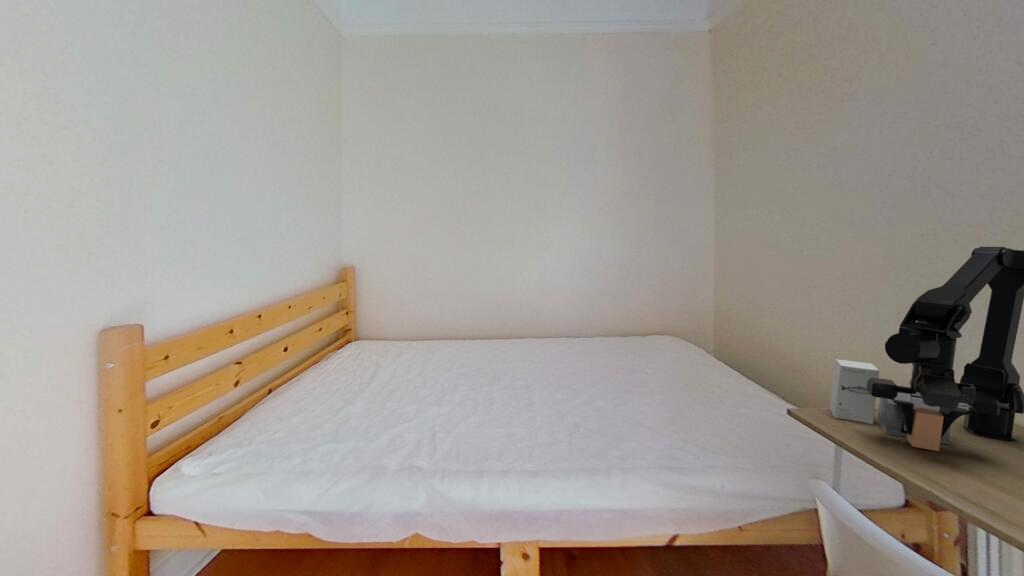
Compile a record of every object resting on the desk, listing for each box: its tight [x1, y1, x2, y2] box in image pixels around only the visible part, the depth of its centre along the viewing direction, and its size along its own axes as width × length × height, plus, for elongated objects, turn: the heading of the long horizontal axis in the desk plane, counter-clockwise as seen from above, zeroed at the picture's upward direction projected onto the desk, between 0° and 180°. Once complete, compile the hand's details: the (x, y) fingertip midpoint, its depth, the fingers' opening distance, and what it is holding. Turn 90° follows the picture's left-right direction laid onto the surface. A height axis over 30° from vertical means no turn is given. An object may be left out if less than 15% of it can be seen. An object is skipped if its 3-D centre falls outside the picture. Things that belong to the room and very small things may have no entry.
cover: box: [902, 407, 944, 452], centre depth 94 cm, size 4×12×7 cm, turn 151°
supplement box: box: [829, 358, 880, 425], centre depth 106 cm, size 7×7×13 cm
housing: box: [876, 397, 951, 445], centre depth 98 cm, size 10×8×7 cm
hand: (923, 436), depth 91 cm, fingers closed on cover, 4 cm apart
